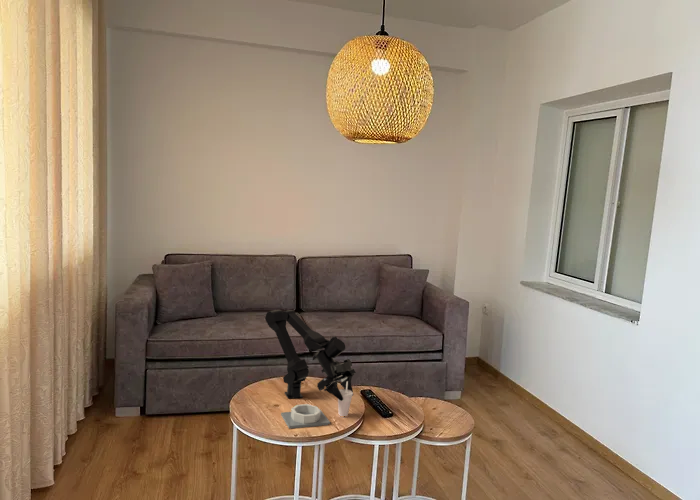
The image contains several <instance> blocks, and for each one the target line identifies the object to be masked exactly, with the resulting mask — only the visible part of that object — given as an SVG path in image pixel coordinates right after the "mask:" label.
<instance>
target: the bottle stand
mask: <svg viewBox="0 0 700 500" xmlns="http://www.w3.org/2000/svg"><path fill="white" fill-rule="evenodd" d="M290 409H291V410H290V411H285V412H283V411H282V412H280V416H281V418H282V419H283V420H284V423H285V424H286V426H287V428H288V429H300V428H308V427H309V428H310V427H311V428H312V427H322V425H323V426H329V425H328V424H330V425H331V421H330V420H329V419H328V417H327V416H326V415H325V414H324V412H323V411H322V410H321V409H320V408H319V407H318V406H317V405H312V404H309V403H304V404H302V403H301V404H296V405H295V406H292V407H291V408H290Z"/></svg>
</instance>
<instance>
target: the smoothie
mask: <svg viewBox="0 0 700 500" xmlns="http://www.w3.org/2000/svg"><path fill="white" fill-rule="evenodd" d="M347 388H348V381H347V383H346V389H344V388H340V389H339V391H340V393H341V395H342V397H343V400H342V401H341V400H339V399H338V398H337V409H338V410H337V412H338V414H339V415H340V416H347V415H348V416H349V412H350V407H351V402H352V397H353V396H354V392H352V391H351V390H348V389H347ZM339 415H338V416H339ZM340 416H339V417H340ZM348 416H347V417H348Z"/></svg>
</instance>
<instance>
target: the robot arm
mask: <svg viewBox="0 0 700 500" xmlns="http://www.w3.org/2000/svg"><path fill="white" fill-rule="evenodd" d="M264 318H265V322H266V323H267V326H268V327H269V328H270V329H271V330H272V331H274V332H275V335H276V337H277V339H278V342H279V344H280V347H281V350H282V351H283V354H284V356H285V359H286V361H287V365H286V370H287V374H286V375H284V376H283V377H282V378H283V383H285V384H286V386H287V388H286V391H284V395H285V396H286V398H287V399H289V400H290V399H298V398H299V399H301V398H303V397H304V396H303V394H302V393H301V391H302V382H305V381H306V379H307V377H308V376H309V373H310V371H309V366H308V364H307V360H306V359H305V358H303V359H301V358H300V357H299V355H298V353H297V351H296V348H295V345H294V343H293V341H292V339H291V335H290V334H289V332H288V330H287V324H289V325H290V326H291V327H292V328H293V329H294V330H295V331H296V332H297V334H299V336H301V338H302V339H303V343H304V345H305V347H306V348H307V349H308V350H309V351H310V352H313V356H312V361H315V360H317V361H318V363H319V365H320V366H321V373H322V374H323V373H325V375H326V377H323V378H322V379H321V380H320V381H318V382H317V385H316V387H317V389H318V391H319V392H320V391H324V392H327V393H329V394H331V395H333V396H334V397H335V398H337V400H338V399H339V400H341V401H342V400H343V397H342V395H341V393H340V391H339V390H340V389H339V387H338V381H340V382H341V383H339V384H340V386H341V387H342V389H346V383H347V381H348V388H347V389H348V390H351V391H352V392H353V386H352V378H354V377H353V376H354V375H355V374H357V372H356V370H355V369H354V368H352V366H353V363H352V361H351V359H350V358H347V359H343V362H342V363H341V362H340V363H339V361H337V360H336V361H335V358H337V357H338V356H339V355H340V354H341V353H343V352H344V351H345V350H346V345H345V342H344V341H343V340H341V339H340V338H338V336H336V335H335V336H332V337H331V338H330V339H329V340H328V339H326V338H325V337H324V335H322V334H321V333H319V332H317V331H314V330H313V329H311V328H310V327H309V325H307V323H306V322H305V321H304V320H303V319H301V318H300V316H299V315H298V314H297V313H296V311H295V310H294V309H289V310H281V309H274V310H269V311H267V312H266V313H265V317H264ZM316 351H317V352H316ZM353 393H354V392H353Z"/></svg>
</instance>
